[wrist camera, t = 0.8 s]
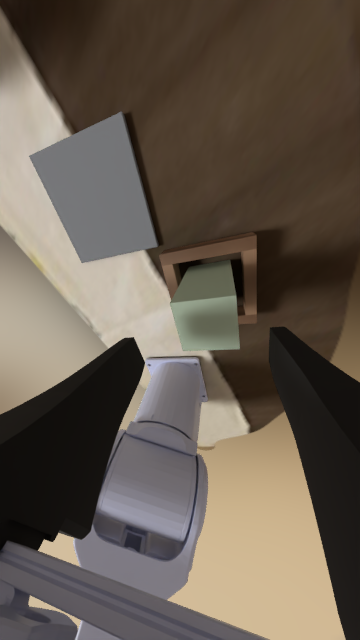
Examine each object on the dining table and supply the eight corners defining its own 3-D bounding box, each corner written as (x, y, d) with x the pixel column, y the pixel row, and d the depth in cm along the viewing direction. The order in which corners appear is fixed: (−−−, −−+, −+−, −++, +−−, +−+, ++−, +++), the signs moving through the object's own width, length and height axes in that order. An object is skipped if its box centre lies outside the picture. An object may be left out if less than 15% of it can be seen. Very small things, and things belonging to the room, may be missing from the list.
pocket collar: (253, 312, 19) (256, 322, 17) (182, 319, 21) (179, 328, 20) (252, 231, 15) (256, 235, 13) (164, 250, 17) (159, 254, 16)
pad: (158, 245, 17) (157, 246, 17) (84, 262, 20) (82, 263, 19) (123, 114, 13) (121, 111, 12) (33, 157, 15) (29, 156, 15)
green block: (233, 298, 19) (239, 348, 12) (195, 302, 20) (183, 351, 13) (230, 259, 17) (236, 295, 10) (188, 266, 18) (169, 303, 11)
